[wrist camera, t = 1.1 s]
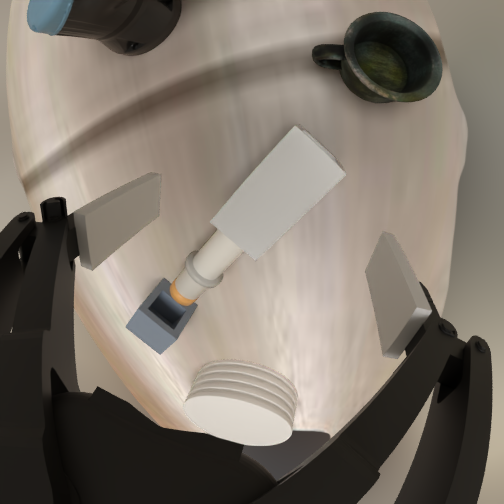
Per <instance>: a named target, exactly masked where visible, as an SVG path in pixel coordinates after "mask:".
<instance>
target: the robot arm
mask: <svg viewBox="0 0 504 504" xmlns="http://www.w3.org/2000/svg"><path fill="white" fill-rule="evenodd" d="M180 12H181V1H180V0H30V2H29V5H28V10H27V22H28V25H29V27H30V29H31V30H32V31H34V32H38V33H45V34H49V35H51V36H52V35H61V36H72V37H82V38H89V39H96V40H99V41H100V42H102V43H103V44H104V45H105V46H107V47H108V48H109V49H110V50H112V51H114V52H116V53H119V54H124V55H138V54H142V53H145V52H147V51H149V50H151V49H153V48H154V47H156V46H157V45H159V44H160V43H161V42H162V41H163V40H164V39H165V38H166V37H167V36H168V35H169V34H170V33H171V31H172V30H173V28H174V27H175V25H176V23H177V21H178V19H179V16H180ZM160 189H161V174H158V173H152V172H150V173H148V174H146V175H144V176H142V177H140V178H137V179H135V180H133V181H131V182H129V183H127V184H125V185H123V186H121V187H119V188H117V189H115V190H113V191H111V192H109V193H107V194H105V195H103V196H101V197H100V198H98V199H96V200H94V201H92V202H90V203H89V204H87V205H85V206H83V207H81V208H80V209H78V210H76V211H74V212H73V213H72V214H70V215H68V216H67V207H66V199H65V198H63V197H53V198H49V199H47V200H45V201H43V202H42V203H41V204H40V207H41V214H42V220H43V221H42V222H36V221H35V215H34V213H32V212H23V213H20V214H19V215H17V216H16V217H14V218H13V219H12V220H11V221H10V222H9V224H8V225H7V226H6V227H5V228H4V229H3V230H2V231H1V232H0V504H357V503H358V501H359V500H360V499H361V498H362V497H363V496H364V495H365V494H366V493H367V492H368V491H369V490H370V488H371V487H372V486H373V485H374V484H375V482H376V481H377V480H378V478H379V476H380V473H379V472H378V470H379V468H380V466H381V465H382V464H383V463H384V461H385V460H386V459H387V458H388V457H389V455H390V454H391V453H392V452H393V450H394V449H395V448H396V446H397V445H398V443H399V442H400V441H401V439H402V438H403V436H404V435H405V434H406V432H407V431H408V429H409V428H410V426H411V425H412V423H413V422H414V420H415V418H416V417H417V415H418V414H419V412H420V411H421V409H422V407H423V406H424V404H425V402H426V401H427V399H428V397H429V395H430V394H431V392H432V390H433V388H434V392H433V396H432V401H431V405H430V409H429V413H428V416H427V420H426V423H425V427H424V431H423V433H422V437H421V440H420V443H419V446H418V449H417V451H416V454H415V457H414V460H413V462H412V465H411V467H410V470H409V472H408V475H407V477H406V479H405V482H404V484H403V486H402V489H401V491H400V493H399V495H398V497H397V499H396V501H395V503H394V504H477V501H478V497H479V494H480V489H481V486H482V482H483V477H484V472H485V467H486V461H487V456H488V449H489V440H490V431H491V419H492V363H491V352H490V348H489V346H488V344H487V342H485V340H484V339H482V338H480V337H478V336H472V337H471V338H470V340H469V341H468V342H467V343H466V342H464V341H462V340H460V339H458V338H457V331H456V329H455V328H454V326H453V325H452V324H451V323H450V322H448V321H447V320H445V319H443V318H440V316H439V314H438V311H437V309H436V307H435V305H434V303H433V300H432V298H430V297H431V296H430V294H429V292H428V290H427V289H426V287H425V286H424V285H423V284H422V283H421V282H419V281H418V279H417V277H416V275H415V273H414V271H413V269H412V267H411V265H410V263H409V261H408V259H407V258H406V256H405V254H404V252H403V250H402V248H401V246H400V245H399V243H398V241H397V239H396V237H395V236H394V235H393V234H390V233H387V232H384V231H382V233H381V236H380V238H379V241H378V243H377V245H376V248H375V250H374V252H373V255H372V257H371V259H370V262H369V264H368V266H367V268H366V270H365V273H366V277H367V281H368V285H369V289H370V294H371V298H372V302H373V307H374V312H375V316H376V321H377V327H378V332H379V337H380V343H381V349H382V355H383V357H389V358H395V359H398V358H399V356H400V355H401V354H402V353H403V351H404V350H405V351H406V355H407V357H406V358H405V359H404V361H403V362H402V363H401V364H400V365H399V367H398V368H397V369H396V370H395V371H394V372H393V374H392V376H391V377H390V378H389V379H388V380H387V381H386V383H385V384H384V385H383V386H382V387H381V388H380V390H379V391H378V392H377V393H376V394H375V395H374V396H373V397H372V399H371V400H370V401H369V402H368V403H367V404H366V405H365V406H364V407H363V408H362V409H361V410H360V411H359V412H358V413H357V414H356V415H355V416H354V417H353V418H352V419H351V420H350V421H349V422H348V423H347V424H346V425H345V426H344V427H343V428H342V429H341V430H340V431H339V432H338V433H337V434H335V435H334V436H333V437H332V438H331V439H330V440H329V441H328V442H327V443H325V444H324V445H323V446H322V447H321V448H320V449H318V450H317V451H316V452H315V453H314V454H312V455H311V456H310V457H309V458H307V459H306V460H305V461H304V462H302V463H301V464H300V465H299V466H297V467H296V468H294V469H293V470H291V471H290V472H289V473H287V474H286V475H284V476H283V477H281V478H280V479H279V480H277V481H276V480H275V479H274V477H273V476H272V475H271V473H269V472H268V470H267V469H266V468H265V467H263V466H262V465H261V464H260V463H258V462H257V461H256V460H254V459H253V458H251V457H249V456H248V455H246V454H244V453H242V450H243V446H244V444H240V443H236V442H232V441H229V440H225V439H222V438H218V437H215V436H212V435H208V434H205V433H198V432H189V431H181V430H174V429H168V428H163V427H160V426H158V425H157V424H155V423H154V422H153V421H151V420H150V419H149V418H147V417H146V416H145V415H143V414H142V413H141V412H139V411H138V410H137V409H136V408H135V407H133V406H132V405H131V404H130V403H128V402H126V401H124V400H122V399H120V398H118V397H117V396H115V395H112V394H111V393H109V392H107V391H105V390H103V389H101V388H100V387H97V388H96V390H95V391H94V392H93V394H92V393H86V392H80V390H79V386H78V382H77V374H76V364H75V349H74V313H73V312H74V281H75V261H74V259H75V258H76V257H77V256H80V262H81V266H83V267H85V268H87V269H90V270H92V271H93V270H94V269H95V268H96V267H97V266H98V265H100V264H101V263H102V262H103V261H104V260H105V259H107V258H108V257H109V256H110V255H111V254H112V253H114V252H115V251H116V250H117V249H118V248H120V247H121V246H122V245H123V244H124V243H126V242H127V241H128V240H129V239H130V238H132V237H133V236H134V235H135V234H137V233H138V232H139V231H140V230H142V229H143V228H144V227H146V226H147V225H148V224H149V223H151V222H152V221H153V220H155V219H156V218H157V217H158V216H159V210H160ZM18 252H19V253H20V257H21V258H20V259H19V254H18ZM12 327H13V328H12ZM11 329H12V333H10V331H11ZM434 386H435V387H434Z"/></svg>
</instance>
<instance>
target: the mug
mask: <svg viewBox="0 0 504 504" xmlns="http://www.w3.org/2000/svg"><path fill="white" fill-rule="evenodd" d="M312 57H313V61H314V62H315V63H316V64H318V65H319V66H321V67H325V68H329V69H337V70H340V74H341V77H342V79H343V81H344V83H345V84H346V85H347V87H348V88H349V89H350V90H351V91H352V92H353V93H354V94H356V95H357V96H359V97H360V98H362V99H364V100H367V101H370V102H374V103H388V102H393V101H398V102H415V101H420V100H422V99H425V98H427V97H428V96H430V95H431V94H432V93H433V92H434V91H435V90H436V88H437V87H438V85H439V83H440V80H441V77H442V61H441V57H440V54H439V51H438V49H437V47H436V45H435V44H434V42H433V41H432V39H431V38H430V37H429V35H428V34H427V33H426V32H425V31H424V30H423V29H422V28H421V27H419V26H418V25H417V24H415V23H414V22H412V21H411V20H409V19H407V18H405V17H402V16H400V15H397V14H393V13H388V12H373V13H368V14H365V15H363V16H361V17H359V18H357V19H356V20H355V21H354V22H353V23H351V25H350V26H349V28H348V29H347V32H346V34H345V38H344V45H334V44H322V45H318V46H315V47H314V48H313V50H312Z"/></svg>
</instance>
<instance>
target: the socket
mask: <svg viewBox="0 0 504 504" xmlns="http://www.w3.org/2000/svg"><path fill="white" fill-rule="evenodd" d="M170 285H171V283H170V282H169V281H167V280H166V279H165V278H163V280H162V281H161V282H160V283H159V284H158V285H157V287H156V288H155V289H154V290H153V291H152V293H151V294H150V295H149V296H148V297H147V298H146V300H145V301H144V302H143V303H142V304H141V306H140V307H139V308H138V309H137V311H136V312H135V314H134V315H133V317H132V318H131V319H130V321H129V322H128V324H127V325H126V328H127V329H128V330H130V331H131V332H132V333H133V334H135V335H136V336H137V337H138V338H139V339H141V340H142V341H143V342H144V343H146V344H147V345H148V346H150V347H151V348H152V349H153V350H155V351H156V352H157V353H159V354H161V353H163V352H164V351H165V350H166V349H167V348H168V347H169V346H170V345H172V344H173V343H174V342H175V341H176V340H177V339H178V337H179V335H180V334H181V332H182V330H183V329H184V327H185V325H186V324H187V322H188V320H189V319H190V317H191V315H192V314H193V312H194V310H195V309H196V307H197V304H195V303H193V304H191V305H189V306H184V305H181V304H179V303H177V302H176V301H175V300H174V299H173V298H172V296H171V294H170Z"/></svg>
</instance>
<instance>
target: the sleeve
mask: <svg viewBox="0 0 504 504" xmlns="http://www.w3.org/2000/svg"><path fill="white" fill-rule="evenodd" d="M345 175H346V172H345V170H344V169H343V167H342V165H341V164H340V162H339V161H338V160H337V159H336V158H335V157H334V156H333V155H332V154H331V153H330V152H329V151H328V150H327V149H326V148H325V147H324V146H323V145H322V144H321V143H320V142H319V141H318V140H317V139H315V138H314V137H313V136H312V135H311V134H310V133H309V132H308V131H307V130H306V129H304V128H303V127H302V126H301V125H300V124H299V125H295V126H294V127H293V128H292V129H291V130H290V131H289V132H288V133H287V135H286V136H285V137H284V138H283V139H282V140H281V141H280V142H279V143H278V144H277V145H276V146H275V148H274V149H273V150H272V151H271V152H270V153H269V154H268V155H267V156H266V157H265V159H264V160H263V161H262V162H261V163H260V164H259V165H258V166H257V167H256V169H255V170H254V171H253V172H252V173H251V174H250V175H249V177H248V178H247V179H246V180H245V181H244V182H243V183H242V185H241V186H240V187H239V188H238V189H237V190H236V191H235V193H234V194H233V195H232V196H231V197H230V198H229V200H228V201H227V202H226V203H225V204H224V206H223V207H222V208H221V209H220V210H219V212H218V213H217V214H216V215H215V216H214V218H213V219H212V220H211V221H210V223H212V224H213V225H214V226H215V227H216V228H217V229H219V230H220V231H221V232H222V233H223V234H224V235H226V236H227V237H228V238H229V239H230V240H231V241H233V242H234V243H235V244H236V245H237V246H238V247H240V248H241V249H242V250H243V251H244V252H245V253H247V254H248V255H249V256H250V257H251V258H252V259H254V260H255V261H256V260H257V259H258V258H259V257H260V256H262V255H263V254H264V253H265V252H266V251H267V250H268V249H269V248H270V247H271V246H272V245H273V244H274V243H275V242H276V241H277V240H278V239H280V238H281V237H282V236H283V235H284V234H285V233H286V232H287V231H288V230H289V229H290V228H291V227H292V226H293V225H294V224H295V223H296V222H297V221H298V220H300V219H301V218H302V217H303V216H304V215H305V214H306V213H307V212H308V211H309V210H310V209H311V208H312V207H313V206H314V205H315V204H316V203H317V202H318V201H319V200H320V199H321V198H323V197H324V196H325V195H326V194H327V193H328V192H329V191H330V190H331V189H332V188H333V187H334V186H335V185H336V184H337V183H338V182H339V181H340V180H341V179H342V178H343V177H344V176H345Z"/></svg>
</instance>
